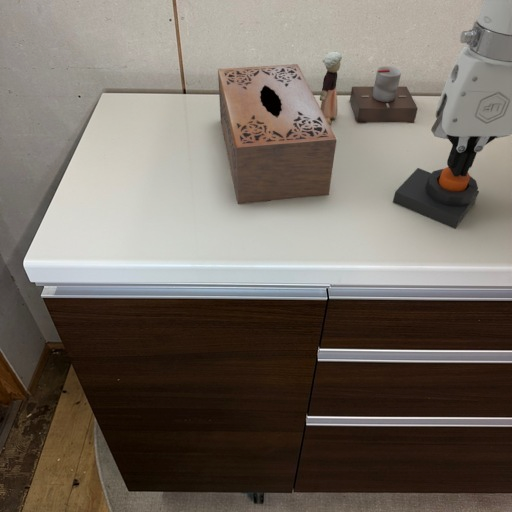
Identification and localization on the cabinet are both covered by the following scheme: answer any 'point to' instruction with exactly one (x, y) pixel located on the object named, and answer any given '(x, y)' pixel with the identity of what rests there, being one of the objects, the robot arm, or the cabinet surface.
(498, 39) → the robot arm
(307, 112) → the tissue box cover
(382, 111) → the dimmer panel
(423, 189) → the switch block
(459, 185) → the lamp switch
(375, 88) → the dimmer knob
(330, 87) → the grandmother figurine
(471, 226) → the cabinet surface
